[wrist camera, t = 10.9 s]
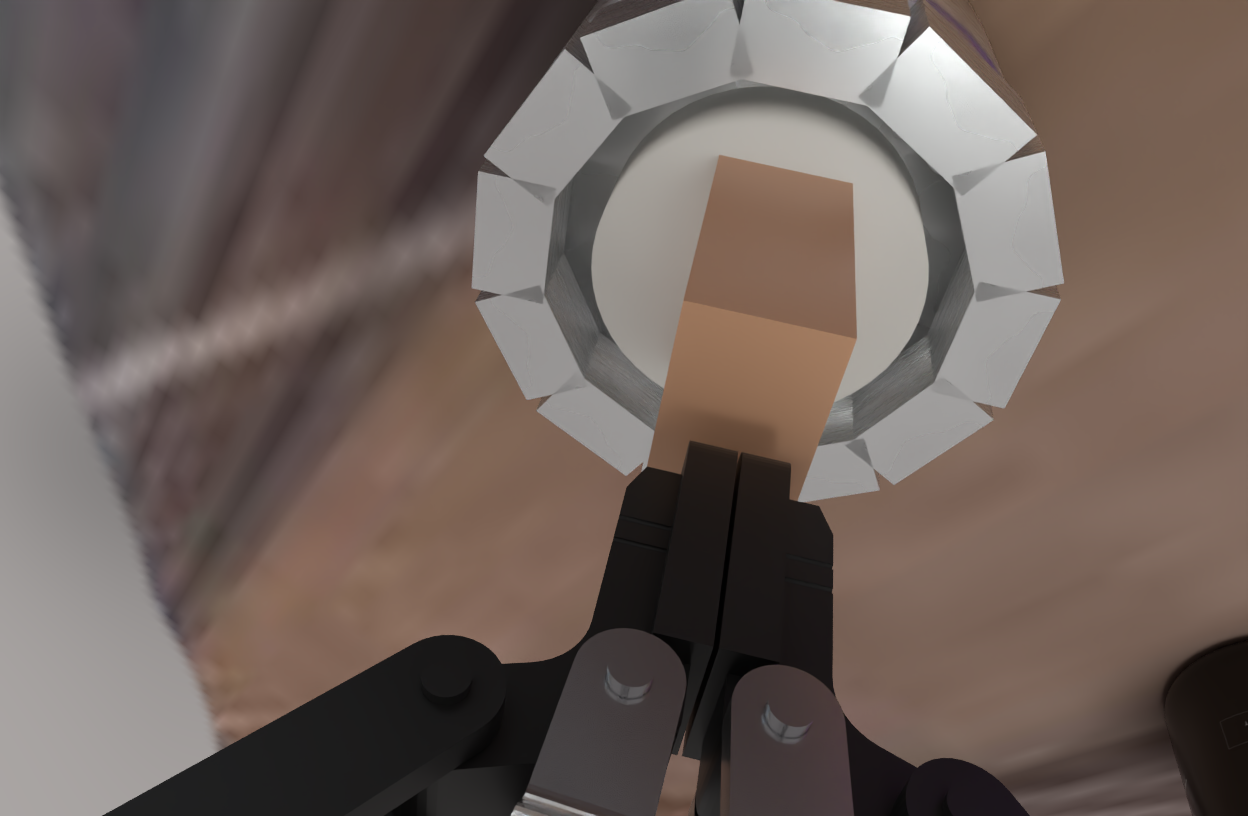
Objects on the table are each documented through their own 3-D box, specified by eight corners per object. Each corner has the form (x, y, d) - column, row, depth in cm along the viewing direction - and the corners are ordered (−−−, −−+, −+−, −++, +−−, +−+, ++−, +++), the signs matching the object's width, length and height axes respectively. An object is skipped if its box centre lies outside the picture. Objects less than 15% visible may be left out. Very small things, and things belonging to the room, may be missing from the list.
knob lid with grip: (633, 54, 18) (546, 216, 13) (971, 125, 18) (1028, 322, 12) (591, 332, 22) (511, 544, 17) (866, 394, 22) (874, 630, 16)
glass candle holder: (583, -140, 21) (491, -71, 15) (1087, -37, 20) (1178, 72, 15) (537, 288, 28) (463, 440, 22) (912, 372, 27) (930, 549, 22)
